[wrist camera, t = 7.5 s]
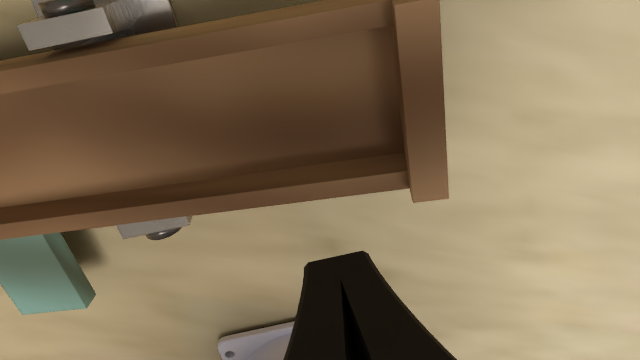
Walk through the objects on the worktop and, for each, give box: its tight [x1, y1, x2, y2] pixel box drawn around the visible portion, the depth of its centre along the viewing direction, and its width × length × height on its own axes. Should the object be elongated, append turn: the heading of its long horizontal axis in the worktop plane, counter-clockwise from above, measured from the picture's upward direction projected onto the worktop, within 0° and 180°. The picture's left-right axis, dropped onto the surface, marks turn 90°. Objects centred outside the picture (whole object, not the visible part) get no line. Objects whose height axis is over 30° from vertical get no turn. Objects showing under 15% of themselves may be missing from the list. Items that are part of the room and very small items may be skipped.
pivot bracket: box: [16, 0, 192, 240], centre depth 16 cm, size 9×4×4 cm, turn 10°
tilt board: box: [0, 0, 449, 315], centre depth 15 cm, size 10×20×3 cm, turn 100°
